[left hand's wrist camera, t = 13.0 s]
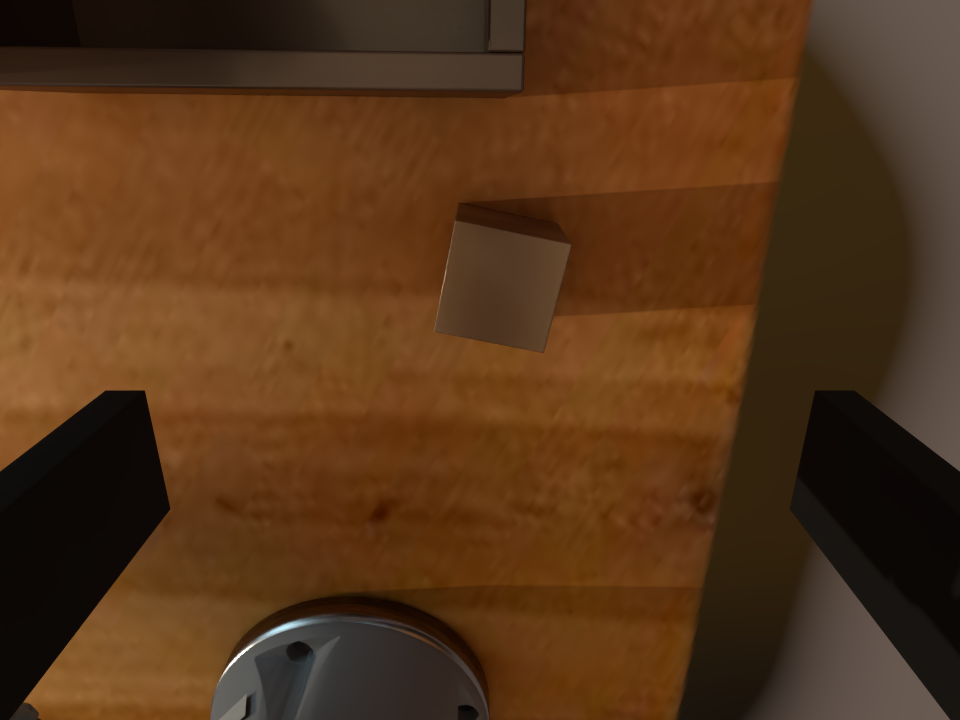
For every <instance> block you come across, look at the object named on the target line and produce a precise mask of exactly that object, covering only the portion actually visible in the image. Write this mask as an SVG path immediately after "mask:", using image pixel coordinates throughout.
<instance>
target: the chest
mask: <svg viewBox="0 0 960 720" xmlns="http://www.w3.org/2000/svg"><path fill="white" fill-rule="evenodd" d="M526 4H527V0H0V90H16V91H43V92H69V93H127V94H207V95H287V96H367V97H447V98H507V97H509V96H512V95H515V94H517V93H520V92H523V89H524V62H525V56H524V54H523V53H524V51H525V33H526Z"/></svg>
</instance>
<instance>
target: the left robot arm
mask: <svg viewBox="0 0 960 720" xmlns="http://www.w3.org/2000/svg"><path fill="white" fill-rule="evenodd" d="M169 510H170V505H169V501H168V496H167V491H166V487H165V482H164V478H163V473H162V468H161V464H160V459H159V454H158V450H157V445H156V440H155V436H154V431H153V426H152V422H151V417H150V413H149V408H148V403H147V399H146V394H145V391H104V392H103V393H102V394H101V395H99V396H98V397H97V398H95V399H94V400H93V401H91V402H90V403H89V404H88V405H86V406H85V407H84V408H82V409H81V410H80V411H78V412H77V413H76V414H75V415H73V416H72V417H71V418H69V419H68V420H67V421H65V422H64V423H63V424H62V425H60V426H59V427H58V428H56V429H55V430H54V431H52V432H51V433H50V434H49V435H47V436H46V437H45V438H43V439H42V440H41V441H39V442H38V443H37V444H36V445H34V446H33V447H32V448H30V449H29V450H28V451H26V452H25V453H24V454H23V455H21V456H20V457H19V458H17V459H16V460H15V461H13V462H12V463H11V464H10V465H8V466H7V467H6V468H4V469H3V470H2V471H0V720H40V719H39V718H38V716H39V713H38V711H37V710H36V709H35V708H34V707H33V706H32V705H31V704H28V703H23V702H24V700H25V699H26V698H27V696H28V695H29V694H30V692H31V691H32V690H33V688H34V687H35V686H36V684H37V683H38V682H39V681H40V679H41V678H42V677H43V675H44V674H45V673H46V671H47V670H48V669H49V667H50V666H51V665H52V663H53V662H54V661H55V660H56V658H57V657H58V656H59V654H60V653H61V652H62V650H63V649H64V648H65V646H66V645H67V644H68V642H69V641H70V640H71V639H72V637H73V636H74V635H75V633H76V632H77V631H78V629H79V628H80V627H81V625H82V624H83V623H84V621H85V620H86V619H87V618H88V616H89V615H90V614H91V612H92V611H93V610H94V608H95V607H96V606H97V604H98V603H99V602H100V600H101V599H102V598H103V597H104V595H105V594H106V593H107V591H108V590H109V589H110V587H111V586H112V585H113V583H114V582H115V581H116V580H117V578H118V577H119V576H120V574H121V573H122V572H123V570H124V569H125V568H126V566H127V565H128V564H129V562H130V561H131V560H132V559H133V557H134V556H135V555H136V553H137V552H138V551H139V549H140V548H141V547H142V545H143V544H144V543H145V541H146V540H147V539H148V538H149V536H150V535H151V534H152V532H153V531H154V530H155V528H156V527H157V526H158V524H159V523H160V522H161V520H162V519H163V518H164V517H165V515H166V514H167V513H168V511H169ZM790 510H791V511H792V513H793V514H794V515H795V517H796V518H797V519H798V520H799V522H800V523H801V524H802V526H803V527H804V528H805V530H806V531H807V532H808V534H809V535H810V536H811V538H812V539H813V540H814V541H815V543H816V544H817V545H818V547H819V548H820V549H821V551H822V552H823V553H824V555H825V556H826V557H827V559H828V560H829V561H830V562H831V564H832V565H833V566H834V568H835V569H836V570H837V572H838V573H839V574H840V576H841V577H842V578H843V579H844V581H845V582H846V583H847V585H848V586H849V587H850V589H851V590H852V591H853V593H854V594H855V595H856V597H857V598H858V599H859V601H860V602H861V603H862V604H863V606H864V607H865V608H866V610H867V611H868V612H869V613H870V615H871V616H872V618H873V619H874V620H875V621H876V623H877V624H878V625H879V627H880V628H881V629H882V631H883V632H884V633H885V635H886V636H887V637H888V638H889V640H890V641H891V642H892V644H893V645H894V646H895V648H896V649H897V650H898V652H899V653H900V654H901V656H902V657H903V658H904V659H905V661H906V662H907V663H908V665H909V666H910V667H911V669H912V670H913V671H914V673H915V674H916V675H917V676H918V678H919V679H920V680H921V682H922V683H923V684H924V686H925V687H926V688H927V690H928V691H929V692H930V694H931V695H932V696H933V698H934V699H935V700H936V701H937V703H938V704H939V705H940V707H941V708H942V709H943V711H944V712H945V713H946V715H947V716H948V717H949V718H950V720H960V471H958V470H957V469H956V468H954V467H953V466H952V465H950V464H949V463H948V462H947V461H945V460H944V459H943V458H941V457H940V456H939V455H937V454H936V453H935V452H934V451H932V450H931V449H930V448H928V447H927V446H926V445H924V444H923V443H922V442H921V441H919V440H918V439H917V438H915V437H914V436H913V435H911V434H910V433H909V432H908V431H906V430H905V429H904V428H902V427H901V426H900V425H898V424H897V423H896V422H894V421H893V420H892V419H891V418H889V417H888V416H887V415H885V414H884V413H883V412H882V411H880V410H879V409H878V408H876V407H875V406H874V405H872V404H871V403H870V402H869V401H867V400H866V399H865V398H863V397H862V396H861V395H859V394H858V393H857V392H856V391H815V394H814V399H813V403H812V408H811V413H810V417H809V422H808V426H807V431H806V436H805V440H804V445H803V450H802V455H801V459H800V464H799V468H798V473H797V478H796V482H795V487H794V491H793V496H792V501H791V505H790ZM210 720H489V693H488V686H487V682H486V678H485V676H484V673H483V670H482V668H481V666H480V664H479V662H478V661H477V659H476V657H475V656H474V654H473V653H472V652H471V650H470V649H469V648H468V647H467V645H466V644H465V643H464V642H463V641H462V640H461V639H460V638H459V637H458V636H457V635H456V634H454V633H453V632H452V631H451V630H449V629H448V628H447V627H445V626H444V625H442V624H441V623H439V622H438V621H436V620H435V619H433V618H431V617H429V616H427V615H425V614H423V613H421V612H419V611H416V610H414V609H412V608H409V607H406V606H403V605H400V604H396V603H393V602H389V601H384V600H379V599H374V598H364V597H329V598H321V599H315V600H310V601H306V602H302V603H299V604H295V605H292V606H289V607H287V608H284V609H282V610H280V611H278V612H276V613H274V614H272V615H270V616H268V617H267V618H265V619H264V620H262V621H260V622H259V623H258V624H256V625H255V626H254V627H253V628H251V629H250V630H249V631H248V632H247V633H246V634H245V635H244V636H243V637H242V639H241V640H240V641H239V642H238V644H237V645H236V646H235V648H234V650H233V651H232V653H231V655H230V657H229V659H228V661H227V664H226V666H225V668H224V670H223V673H222V675H221V677H220V679H219V682H218V684H217V686H216V689H215V691H214V695H213V699H212V705H211V718H210Z"/></svg>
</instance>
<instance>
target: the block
mask: <svg viewBox="0 0 960 720" xmlns="http://www.w3.org/2000/svg"><path fill="white" fill-rule="evenodd" d="M571 247H572V244H571V242H570V241H569V240H568V238H567V237H566V235H565V234H564V232H563V231H562V229H561V228H560V226H559V225H558V224H557V223H552V222H547V221H543V220H538V219H533V218H528V217H524V216H519V215H514V214H509V213H505V212H500V211H495V210H491V209H486V208H481V207H476V206H472V205H467V204H462V203H458V207H457V212H456V217H455V222H454V227H453V233H452V238H451V243H450V248H449V254H448V259H447V264H446V269H445V274H444V280H443V285H442V290H441V295H440V301H439V306H438V311H437V316H436V321H435V327H434V332H438V333H443V334H449V335H454V336H459V337H464V338H469V339H474V340H479V341H485V342H490V343H495V344H500V345H505V346H510V347H515V348H521V349H526V350H531V351H536V352H541V353H543V352H544V350H545V346H546V342H547V338H548V334H549V331H550V327H551V323H552V319H553V315H554V312H555V308H556V304H557V300H558V296H559V292H560V289H561V285H562V281H563V277H564V273H565V270H566V266H567V262H568V258H569V254H570V251H571Z"/></svg>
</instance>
